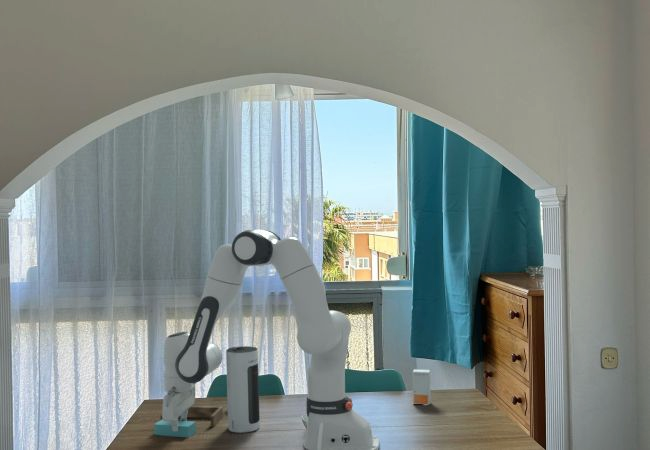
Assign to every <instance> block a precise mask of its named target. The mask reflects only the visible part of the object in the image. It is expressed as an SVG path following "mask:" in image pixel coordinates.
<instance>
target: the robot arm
mask: <svg viewBox="0 0 650 450" xmlns="http://www.w3.org/2000/svg"><path fill="white" fill-rule="evenodd" d="M210 263H211V264H210V266H209V268H208V271H207V276H206V279H205V283H204V288H203V290H202V295H201V298H200V301H199V304H198V307H197V310H196V314H195V316H194V319H193V321H192V325H191V328H190V331H179V332H176V333H172V334H170V335H168V336H167V337H166V338H165V340H164V344H163V345H164V347H163V362H164V368H165V369H164V373H163V379H164V381H163V382H164V383H163V385H164V388H163V389H164V391H165V392H166V394H165V395H164V397H163V399H162V412H161V413H162V414H161V415H162V418H163V421H167V422H171V424H172V431H178V430H179V424H178V421H188V419H187V418H188V417H187V414H188V409H189V408H190V407H191V406H194V404H195V403H196V402H195V401H196V390H197V389H196V388H197V387H196V384H197V383H199V382H201V381H202V380H203V379H204V378H206V377H207V376H208V375H209V374H212V372H214V371H216V370H217V369H218V368H219V367H220V365H221V364H222V362H223V354H222V350H221V348H220V347H219V346H218V345H217V344H216V343H213V342H210V341H211V339H212V335H213V332H214V329H215V326H216V324H217V322H218V321H219V319H220V318H221V317H222V315H223V314H224V313H226V312H227V311H228V310H229V309H230V308H231V307H232V306H234V304H235V303H236V301H237V299H238V296H239V294H240V292H241V289H242V285H243V282H244V281H243V280H244V277H245V273H246V272H247V269H248V268H249V267H253V266H255V267H256V266H257V267H262V266H263V267H264V266H268V265H271V266H273V267H274V269H275V270H276V272H277V274H278V276H279V278H280V280H281V283H282V285H283V288H284V290H285V291H286V293H287V296H288V298H289V301H290V303H291V306H292V310H293V314H294V319H295V323H296V327H297V334H296V339H297V344H298V346H299V347H300V349H301V350H302V351H303V352H304V353H306V354H309V355H311V359H310V362H309V366H308V367H307V397H306V402H305V403H306V404H305V407H306V408H305V410H306V411H305V412H306V416H307V422H306V423H307V424H306V429H305V430H306V431H305V438H304V440H303V444H302V446H303V448H305V449H306V450H379V448H380V446H381V445H380V439H379V438H378V436H376V435H375V434H373V433H372V428H371V425H370V422H369V421H368V419H366V418H365V417H364V416H362V415H361V414H359V413H358V412H357V411H356V410H354V409H353V406H354V405H353V400H352V397H351V396H350V397H348V396H346V376H345V375H346V364H347V363H346V361H347V356H348V347H349V338H350V333H351V331H352V324H351V321H350V319H349V317H348V316H347V315H346V314H345V313H343V312H341V311H337V310H330V309H329V306H328V301H327V296H326V295H327V294H326V291H327V290H326V286H325V285H324V283H323V280H322V278H321V276H320V272H318V269H317V267H316V265H315V263H314V260H313V259H312V257H311V255H310V253H309V252H308V250H307V249H306V247H305V245H304V244H303V242H301V240H300V239H298V238H297V237H291V236H290V237H285V238H283V239H282V238H281V237H280V235H278V234H277V233H275V232H273V231H270V230H263V229H245V230H244V231H241V232H239V233H238V234H237V235H236V236H235V237H234V239H233V241H232V243H225V244H222V245H220V246H218V247H217V249H216V251H215V253H214V256H213V257H212V260H211V262H210ZM179 416H181V417H179Z"/></svg>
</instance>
